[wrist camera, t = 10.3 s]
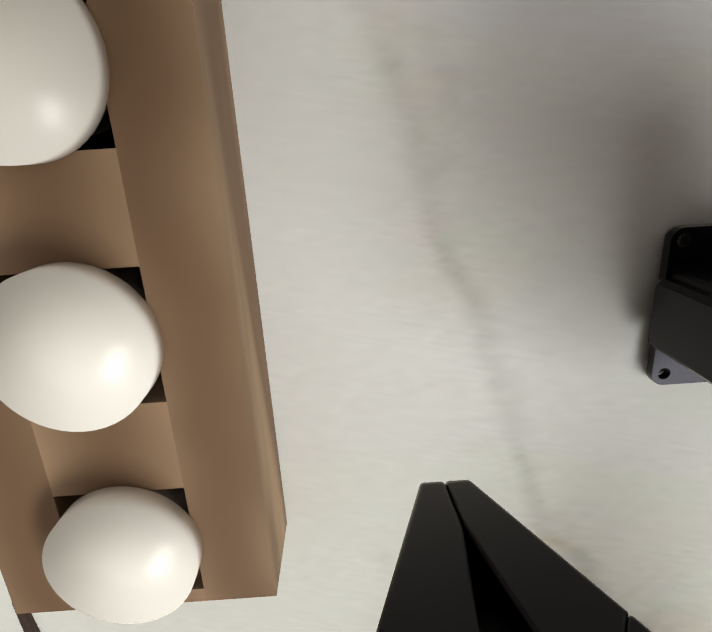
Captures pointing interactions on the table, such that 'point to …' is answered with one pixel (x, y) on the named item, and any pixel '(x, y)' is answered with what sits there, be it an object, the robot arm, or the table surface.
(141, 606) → the knob
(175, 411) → the knob mount
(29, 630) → the sushi plate
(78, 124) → the knob
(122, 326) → the knob middle
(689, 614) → the table surface
